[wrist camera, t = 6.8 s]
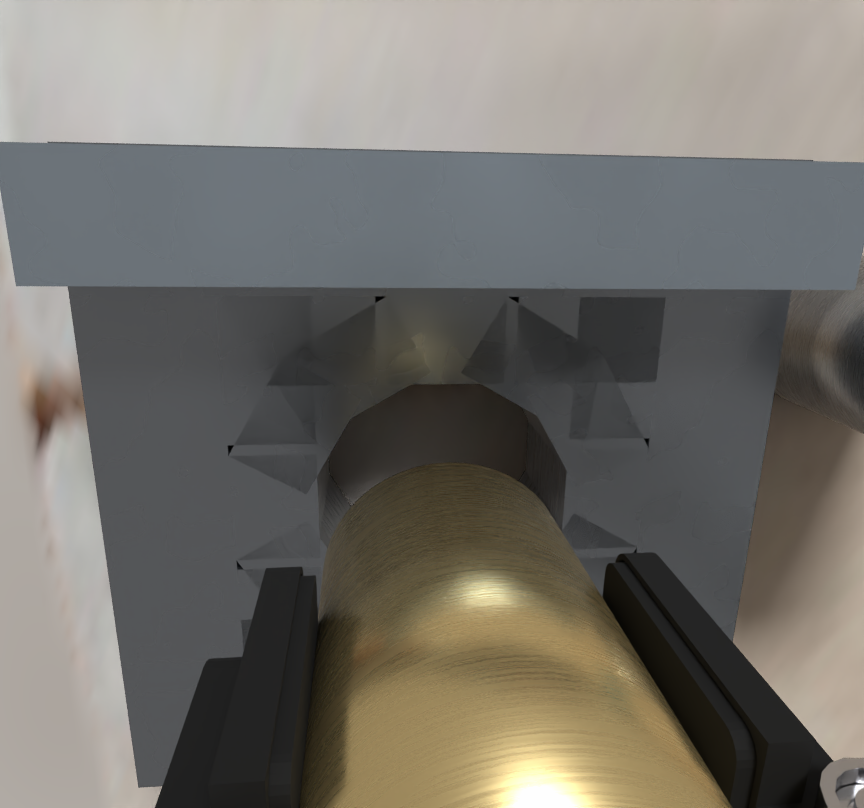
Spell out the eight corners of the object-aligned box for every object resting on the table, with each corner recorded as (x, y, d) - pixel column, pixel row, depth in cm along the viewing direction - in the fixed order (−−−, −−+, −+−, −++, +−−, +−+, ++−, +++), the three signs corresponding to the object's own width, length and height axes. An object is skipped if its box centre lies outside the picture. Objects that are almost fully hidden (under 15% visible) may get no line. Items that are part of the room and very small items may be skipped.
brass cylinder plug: (573, 459, 12) (954, 911, 4) (555, 670, 13) (823, 1306, 6) (318, 465, 11) (231, 988, 4) (326, 683, 13) (274, 1400, 5)
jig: (655, 660, 23) (753, 812, 17) (180, 683, 21) (109, 859, 15) (719, 171, 18) (881, 151, 12) (122, 158, 17) (-10, 129, 11)
